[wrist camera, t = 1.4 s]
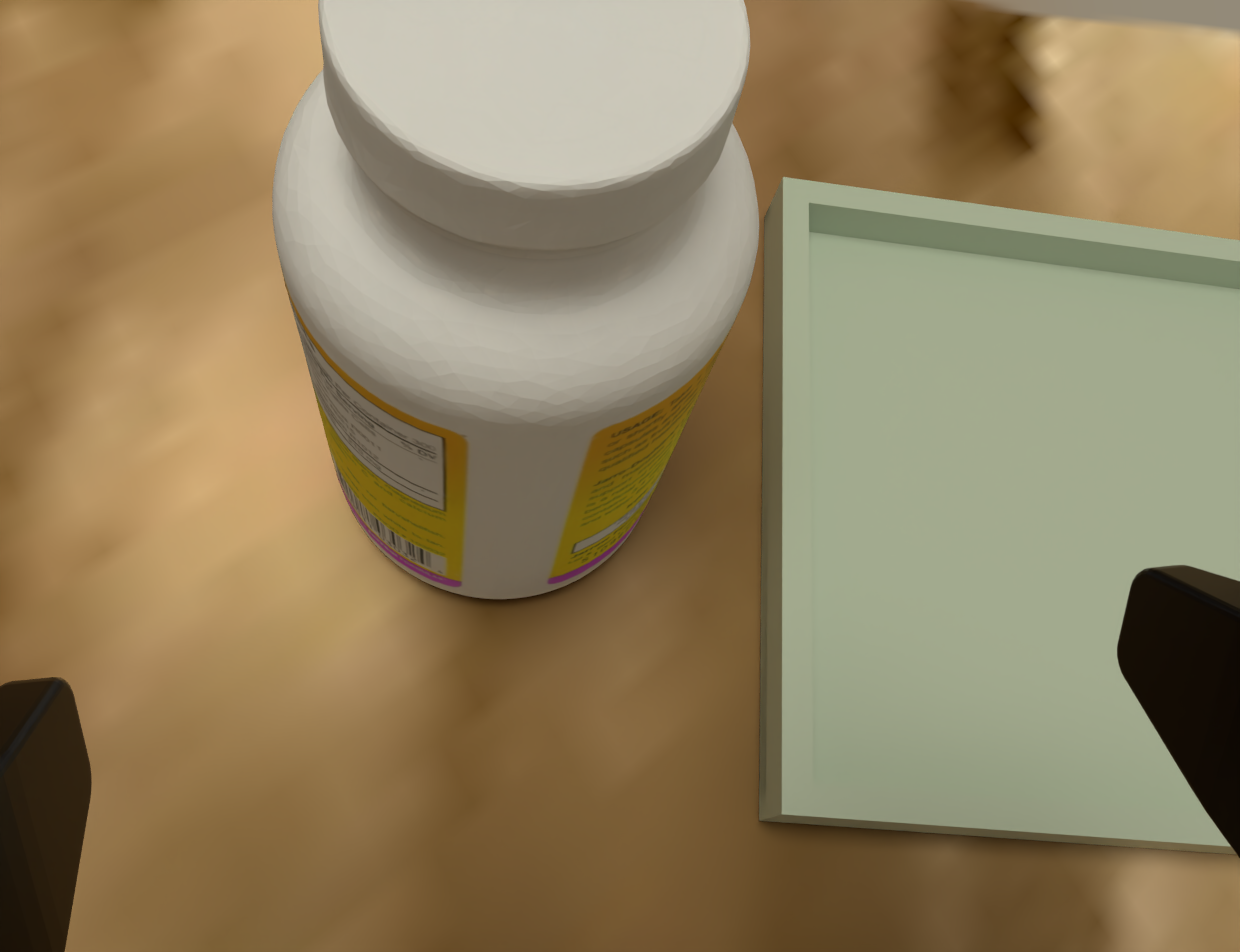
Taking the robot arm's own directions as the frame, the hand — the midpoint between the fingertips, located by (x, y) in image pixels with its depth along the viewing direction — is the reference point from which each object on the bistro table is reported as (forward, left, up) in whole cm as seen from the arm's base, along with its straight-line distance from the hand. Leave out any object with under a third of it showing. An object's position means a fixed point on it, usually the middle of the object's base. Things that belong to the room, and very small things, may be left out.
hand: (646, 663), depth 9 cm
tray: (-4, -13, -13) cm, 19 cm away
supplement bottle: (+6, -5, -13) cm, 15 cm away
